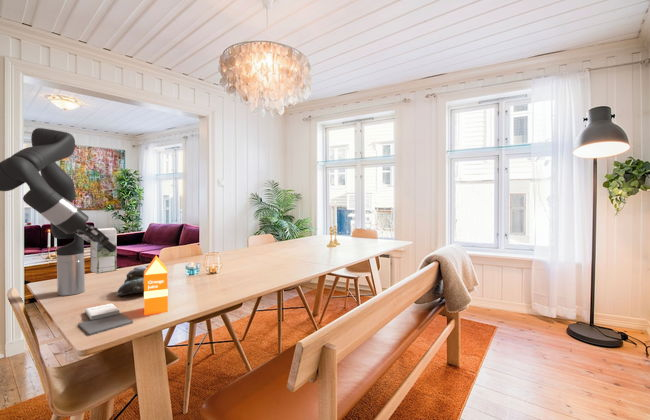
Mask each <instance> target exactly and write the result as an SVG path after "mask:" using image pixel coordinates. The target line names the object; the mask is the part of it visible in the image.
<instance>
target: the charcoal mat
mask: <svg viewBox="0 0 650 420" xmlns="http://www.w3.org/2000/svg"><path fill="white" fill-rule="evenodd" d="M133 323H134V320H131V319H130V318H129V317H127V316H125V315H124V314H122V313H121V312H120V314H118V315H114V316H110V317H105V318H101V319H97V320H91V319H89V320H85V321H82V322H78V323H77V326H78V327H80V328H81V329H82V330H83V331H84V332H85V333H86V334H87V335H88V336H92V335H95V334H96V335H97V334H99V333H102V332H107V331H109V330H114V329H116V328H121V327H124V326H127V325H131V324H133Z"/></svg>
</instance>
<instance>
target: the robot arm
mask: <svg viewBox="0 0 650 420" xmlns="http://www.w3.org/2000/svg"><path fill="white" fill-rule="evenodd" d="M30 139H31V140H30V142H31V146H29V147H25V148H23V149H20V150H19V151H17V152H16V153H14V154H12V155H11V156H9V157H7V158H5V159H3V160H2V161H0V192H10V191H13V190H15V189H16V188H19V187H21V186H22V185H24V184H26V185H27V186H28V188H29V190H28V191H27V192H26V193H25V194H24V195H23V197H22V200H23V202H24V203H25V204H26V205H28V206H29V207H31V209H33V210H34V211H36V212H37V213H39V214H40V215H41V216H42V217H43V218H45V220H47V221H48V222H49V223H50V229H51V230H50V231H51V234H52V237H54V239H59V240H61V239H63V240H64V239H73V241H72V242H71V243H68V244H65V245H63V246H59V247H58V248H56V276H57V277H56V278H57V279H56V285H57V286H56V287H57V295H58V296H62V297H63V296H73V295H78V294H81V293H83V292H85V291H86V287H85V286H86V285H85V280H86V277H85V274H86V273H85V245H84V244H85V241H86V243H90V242H91V241H92V242H94V243H95V242H97V243H98V244H100V245H101V246H103V247H104V248H105V249H107V250H108V251H109V252H113V251H114V250H115V249H116V250H117V248H116V246H114V245H113V244H112V243H111V242H109V241H108V240H109V238H108V237H106V236H105V235H104V234H103V233H102V232H100V231H99V230H98V229H97V227H95V226H93V225H91V224H90V225H88V224H87V222H88V221H89V215H87V214H86V213H85V212H83V210H81V209H80V208H79V207H77V206H76V205H75V204H73V202H74V200H75V199H76V188H75V182H74V180H73V179H72V178H71V176H70V175H69V174H68V172H66V171H65V170H64V169H62V167H60V165H59V164H58V163H57V162H59V161H62V160H64V159H67V158H69V157H71V156H72V155H73V154H74V152H75V150H76V139H75V137H74V136H73V135H72V134H71V133H69V132H67V131H62V130H61V131H60V130H55V129H49V128H43V127H42V128H41V127H37V128H35V129H34V130H32V133H31V137H30ZM93 238H94V239H93ZM100 238H103V240H102V241H100Z"/></svg>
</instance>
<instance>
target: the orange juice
mask: <svg viewBox="0 0 650 420" xmlns="http://www.w3.org/2000/svg"><path fill="white" fill-rule="evenodd" d="M148 265H149V266H148V267H147V268H146V270H145V272H144V292H143V302H144V304H143V305H144V307H143V309H144V311H143V312H144V316H149V315H155V314H162V313H163V314H164V313H168V310H169V308H168V307H169V306H168V304H169V302H168V301H169V299H168V296H169V292H168V291H169V290H168V285H169V283H168V282H169V281H168V280H169V278H168V274H169V272H168V268H167V267H166V265H165V264H164V263H163V262H162V260H160V258H159V257H158V256H157V255H155V256H154V257H153V259H152V261H151V262H150V263H149V264H148Z"/></svg>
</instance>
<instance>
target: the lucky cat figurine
mask: <svg viewBox="0 0 650 420" xmlns="http://www.w3.org/2000/svg"><path fill="white" fill-rule="evenodd" d="M148 266H149V264H148V265H146V266H144V265H141V266H136V267H134V268H133V269H132V270H130V271H128V273H127V274H126V278H125V280H124V283H123V284H122V285H121V286H119V288H118V290H117V294H116V296H117V297H119V298H120V297H122V296H125V295H132V294H133V295H134V294H141V293H144V272H145V270H146V268H147V267H148Z"/></svg>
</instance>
